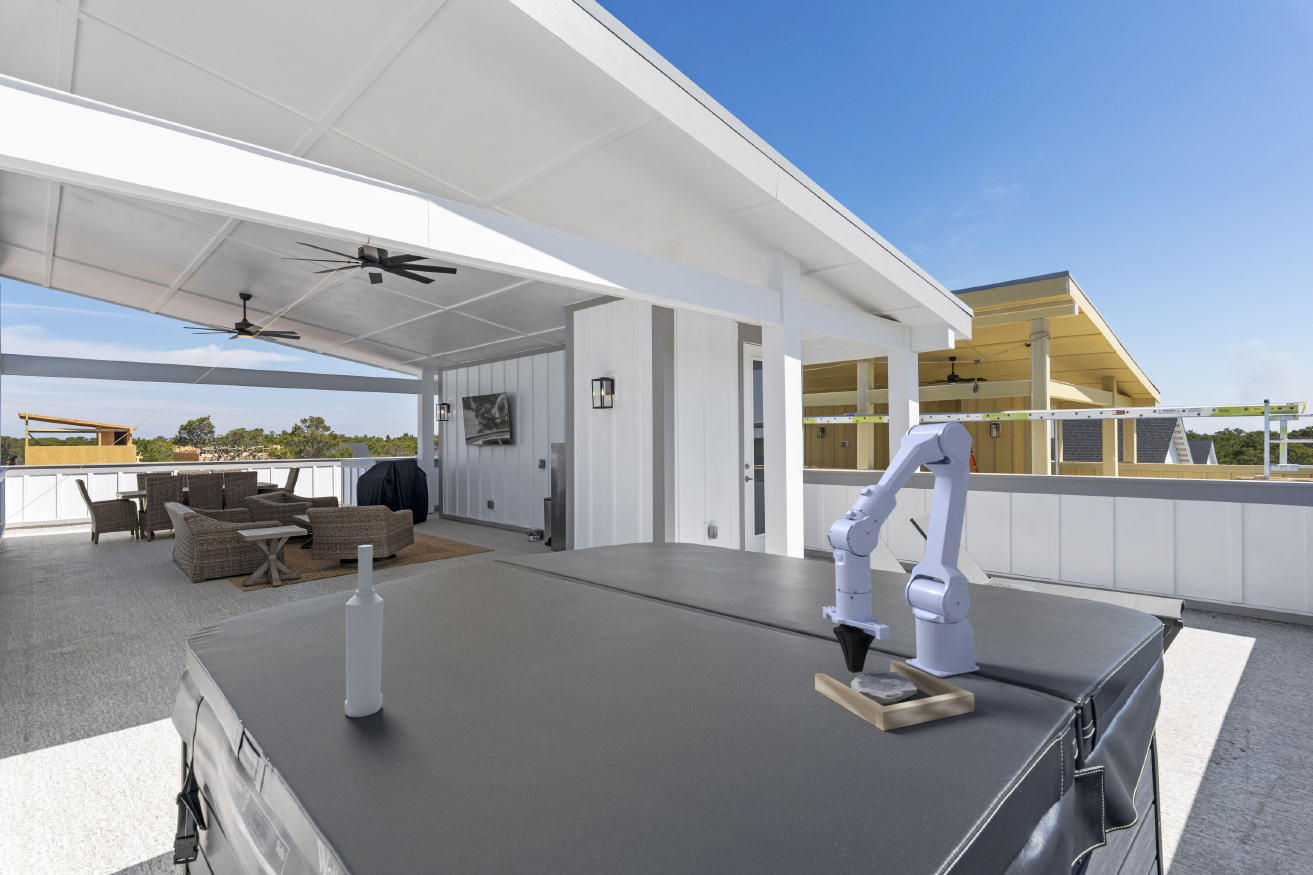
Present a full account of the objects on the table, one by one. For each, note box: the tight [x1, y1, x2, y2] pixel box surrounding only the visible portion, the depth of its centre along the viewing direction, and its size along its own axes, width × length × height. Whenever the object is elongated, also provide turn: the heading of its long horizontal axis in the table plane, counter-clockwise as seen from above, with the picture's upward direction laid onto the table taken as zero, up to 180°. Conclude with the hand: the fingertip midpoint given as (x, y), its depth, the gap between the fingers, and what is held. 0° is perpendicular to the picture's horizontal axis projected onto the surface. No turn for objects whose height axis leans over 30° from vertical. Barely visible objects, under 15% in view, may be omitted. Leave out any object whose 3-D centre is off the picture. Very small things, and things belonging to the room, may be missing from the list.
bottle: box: [344, 544, 384, 718], centre depth 88 cm, size 5×5×25 cm
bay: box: [814, 660, 976, 732], centre depth 89 cm, size 17×16×2 cm
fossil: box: [850, 670, 918, 706], centre depth 91 cm, size 11×4×10 cm
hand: (855, 670), depth 97 cm, fingers closed
